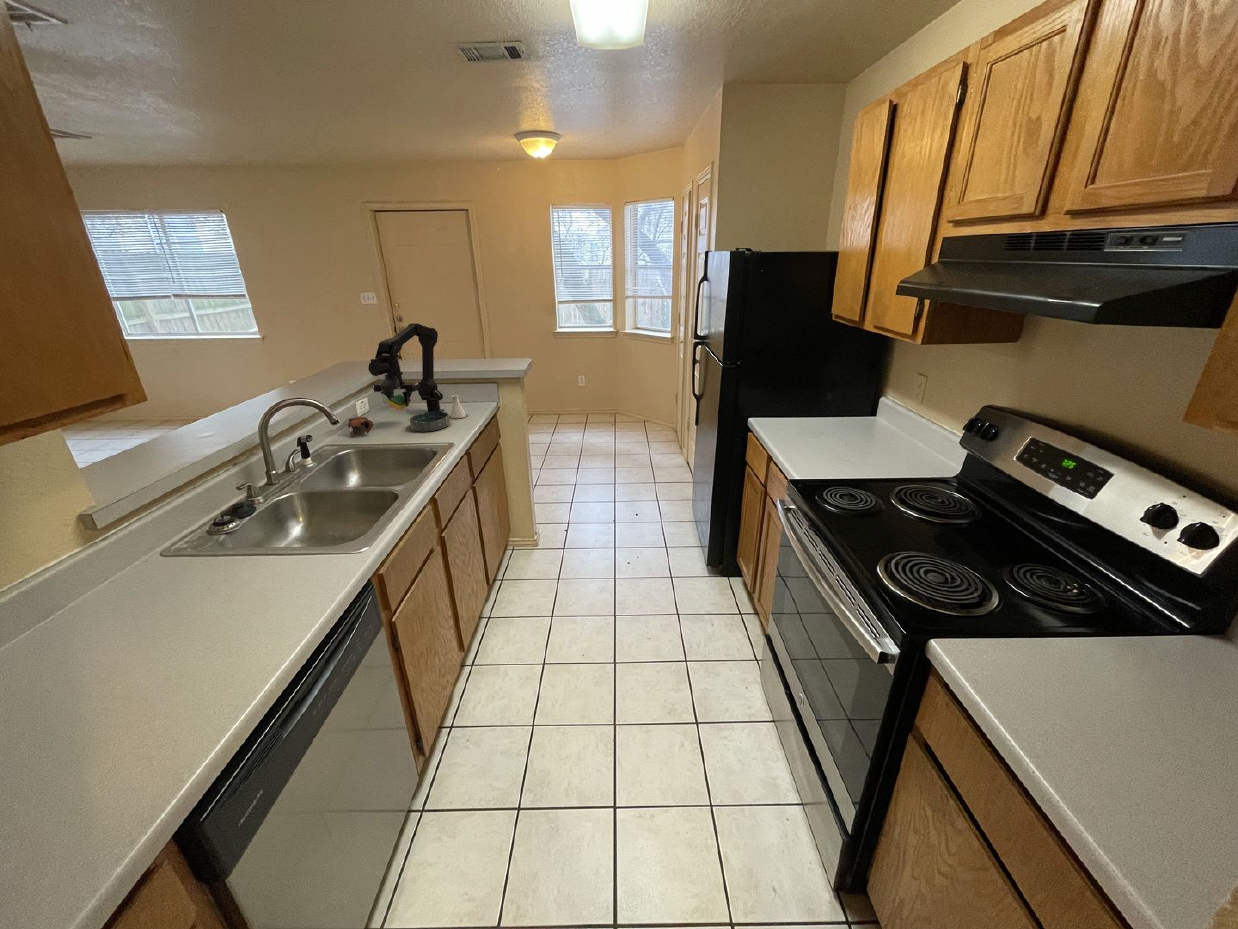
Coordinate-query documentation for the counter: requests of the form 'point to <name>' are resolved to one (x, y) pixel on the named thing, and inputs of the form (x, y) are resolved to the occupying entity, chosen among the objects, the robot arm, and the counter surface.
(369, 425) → the pottery mug
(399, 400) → the sponge
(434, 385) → the robot arm
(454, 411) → the flask
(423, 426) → the bowl
